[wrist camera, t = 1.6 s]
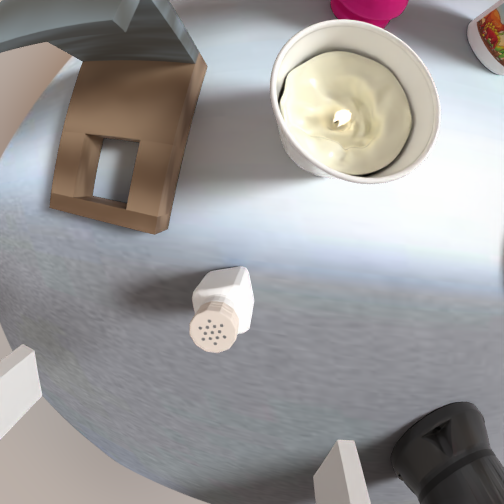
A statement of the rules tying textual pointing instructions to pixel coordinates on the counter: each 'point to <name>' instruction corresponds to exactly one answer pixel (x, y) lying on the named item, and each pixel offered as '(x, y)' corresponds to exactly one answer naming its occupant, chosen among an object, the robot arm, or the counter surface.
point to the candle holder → (354, 102)
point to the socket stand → (117, 98)
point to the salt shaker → (221, 308)
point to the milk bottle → (489, 37)
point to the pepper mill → (368, 10)
